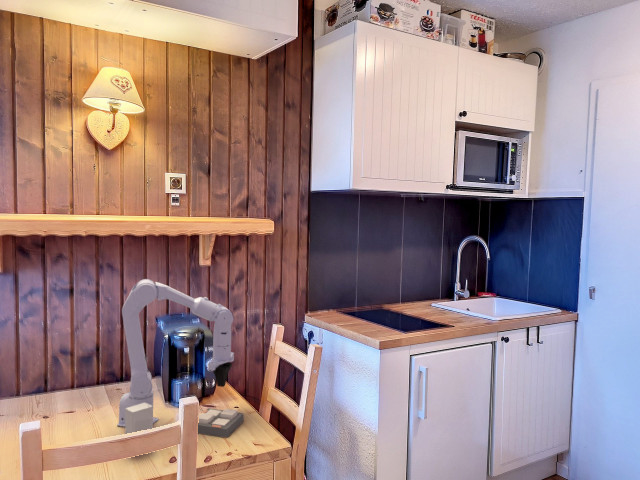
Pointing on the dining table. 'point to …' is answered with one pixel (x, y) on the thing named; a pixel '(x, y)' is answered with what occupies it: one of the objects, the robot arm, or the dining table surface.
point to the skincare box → (138, 418)
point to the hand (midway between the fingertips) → (221, 385)
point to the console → (220, 430)
